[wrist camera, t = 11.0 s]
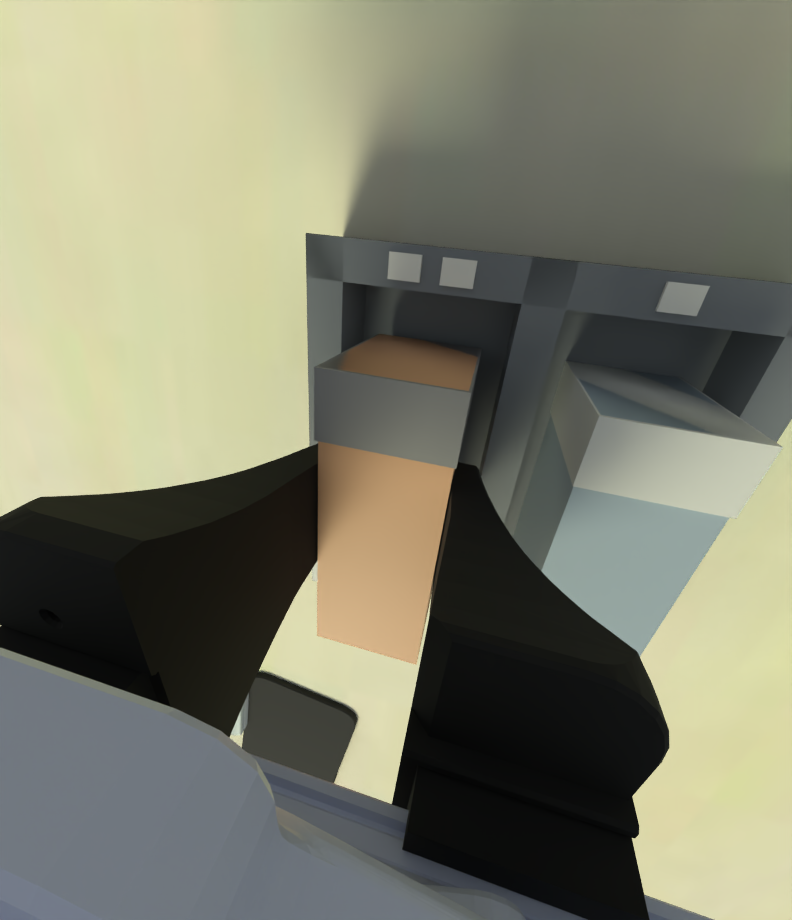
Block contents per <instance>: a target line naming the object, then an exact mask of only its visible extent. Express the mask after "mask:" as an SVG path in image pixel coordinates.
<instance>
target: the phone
mask: <svg viewBox="0 0 792 920" xmlns="http://www.w3.org/2000/svg"><path fill="white" fill-rule="evenodd" d="M356 723H357V717H356V715H355V713H354V712H353V711H352V710H350V709H349V708H347V707H346V706H344V705H341V704H339V703H337V702H334V701H332V700H330V699H327V698H325V697H323V696H320V695H318V694H315V693H313V692H311V691H308V690H306V689H303V688H301V687H299V686H296V685H294V684H291V683H289V682H287V681H284V680H282V679H279V678H277V677H275V676H272V675H270V674H266V673H261V672H259V673H257V675H256V678H255V680H254V682H253V684H252V686H251V689H250V691H249V700H248V721H247V726H246V728H245V729H244V734H243V743H242V749H243V750H245V751H246V752H247V753H250V754H252V755H255V756H258V757H261V758H264V759H266V760H269V761H272V762H275V763H278V764H280V765H283V766H286V767H289V768H292V769H294V770H297V771H300V772H303V773H306V774H308V775H311V776H314V777H317V778H320V779H322V780H325V781H328V782H331V783H334V781H335V778H336V775H337V772H338V769H339V767H340V764H341V762H342V759H343V757H344V754H345V752H346V749H347V747H348V744H349V742H350V739H351V737H352V734H353V732H354V729H355V726H356Z"/></svg>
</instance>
